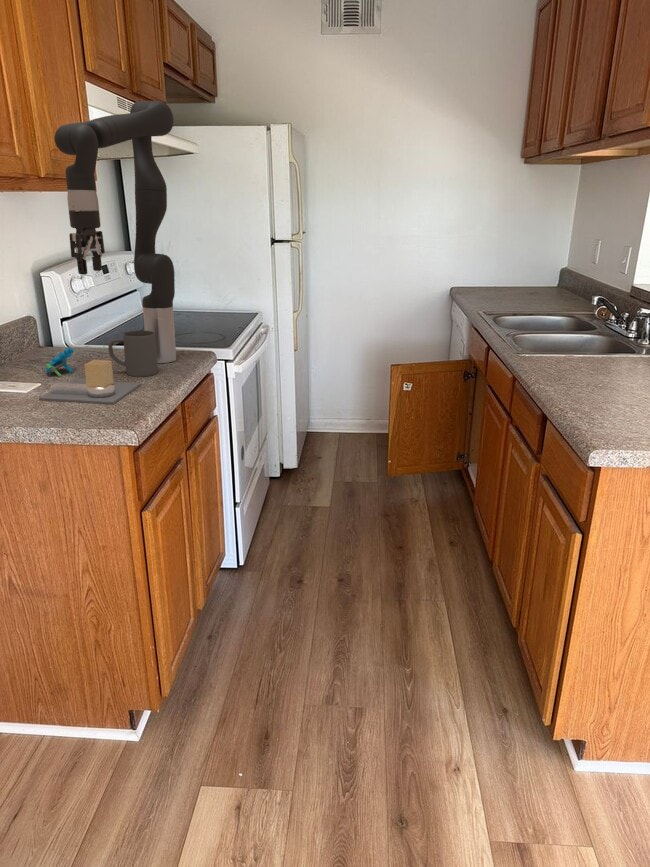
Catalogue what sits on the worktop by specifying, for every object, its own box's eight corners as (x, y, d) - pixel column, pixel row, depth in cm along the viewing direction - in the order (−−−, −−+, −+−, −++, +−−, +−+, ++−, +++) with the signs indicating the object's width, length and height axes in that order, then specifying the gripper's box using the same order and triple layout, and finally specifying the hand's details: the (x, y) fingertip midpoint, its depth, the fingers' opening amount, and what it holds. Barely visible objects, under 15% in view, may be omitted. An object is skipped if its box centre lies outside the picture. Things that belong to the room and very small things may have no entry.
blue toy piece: (60, 361, 196) (75, 341, 191) (75, 375, 197) (90, 355, 192) (36, 374, 187) (50, 354, 181) (51, 389, 188) (66, 369, 182)
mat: (73, 381, 181) (73, 379, 181) (141, 385, 179) (141, 383, 179) (39, 400, 164) (38, 397, 164) (113, 404, 162) (113, 402, 162)
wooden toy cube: (95, 381, 170) (93, 359, 168) (113, 382, 169) (111, 360, 167) (86, 387, 165) (84, 364, 163) (105, 388, 165) (102, 365, 163)
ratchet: (61, 387, 173) (58, 368, 171) (119, 391, 171) (117, 371, 169) (47, 395, 166) (44, 374, 164) (108, 398, 164) (106, 378, 163)
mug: (159, 369, 196) (156, 330, 192) (156, 376, 188) (153, 336, 183) (113, 369, 194) (109, 330, 190) (108, 377, 186) (104, 336, 182)
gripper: (83, 208, 174) (89, 269, 180) (56, 209, 161) (64, 275, 167) (109, 208, 173) (115, 270, 179) (84, 209, 160) (91, 275, 166)
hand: (90, 272), depth 173 cm, fingers open, 8 cm apart
